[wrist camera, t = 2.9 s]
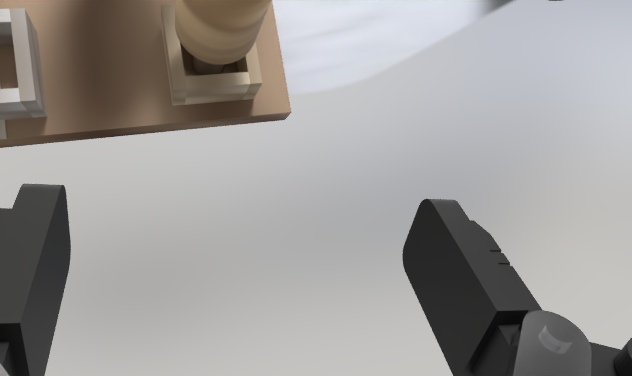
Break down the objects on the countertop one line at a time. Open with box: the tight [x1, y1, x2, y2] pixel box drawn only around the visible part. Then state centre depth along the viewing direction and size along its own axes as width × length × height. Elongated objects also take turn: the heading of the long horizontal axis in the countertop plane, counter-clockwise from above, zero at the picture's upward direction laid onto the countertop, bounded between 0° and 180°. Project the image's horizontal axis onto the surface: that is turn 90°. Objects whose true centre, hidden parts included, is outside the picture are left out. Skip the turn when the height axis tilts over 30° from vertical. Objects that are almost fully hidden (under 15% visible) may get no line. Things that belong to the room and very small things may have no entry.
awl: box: [175, 0, 271, 75], centre depth 22 cm, size 4×4×12 cm
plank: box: [0, 0, 291, 148], centre depth 26 cm, size 18×7×4 cm, turn 100°
